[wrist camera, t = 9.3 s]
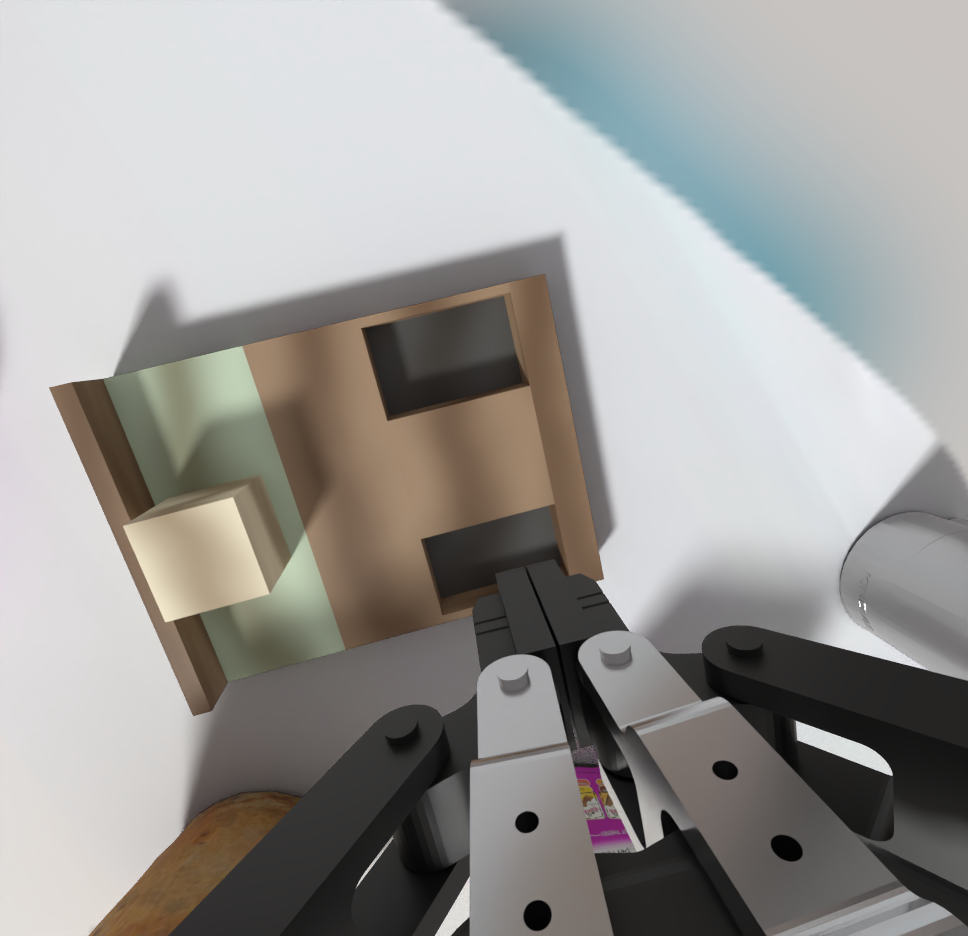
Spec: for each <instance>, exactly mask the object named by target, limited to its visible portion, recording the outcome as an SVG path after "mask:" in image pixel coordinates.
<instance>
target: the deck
mask: <svg viewBox="0 0 968 936" xmlns="http://www.w3.org/2000/svg"><path fill="white" fill-rule="evenodd" d="M49 389H50V391H51V393H52V396H53V398H54V400H55V402H56V405H57V407H58V409H59V412H60V414H61V416H62V418H63V421H64V423H65V425H66V427H67V430H68V432H69V434H70V437H71V439H72V441H73V443H74V446H75V448H76V450H77V452H78V455H79V457H80V459H81V462H82V464H83V466H84V468H85V471H86V473H87V475H88V478H89V480H90V482H91V484H92V487H93V489H94V491H95V493H96V496H97V498H98V500H99V503H100V505H101V507H102V509H103V512H104V514H105V516H106V519H107V521H108V523H109V525H110V528H111V530H112V532H113V534H114V537H115V539H116V541H117V544H118V546H119V548H120V550H121V553H122V555H123V557H124V560H125V562H126V564H127V566H128V569H129V571H130V573H131V575H132V578H133V580H134V582H135V585H136V587H137V589H138V591H139V594H140V596H141V598H142V601H143V603H144V605H145V607H146V610H147V612H148V614H149V616H150V619H151V621H152V623H153V626H154V628H155V630H156V632H157V635H158V637H159V639H160V642H161V644H162V646H163V648H164V651H165V653H166V655H167V657H168V660H169V662H170V664H171V667H172V669H173V671H174V673H175V676H176V678H177V680H178V683H179V685H180V687H181V689H182V692H183V694H184V696H185V698H186V701H187V703H188V705H189V708H190V710H191V712H192V714H193V716H195V715H199V714H202V713H206V712H210V711H212V710H213V708H214V706H215V704H216V703H217V701H218V699H219V697H220V695H221V694H222V692H223V690H224V688H225V687H226V685H227V683H228V682H231V681H235V680H238V679H242V678H246V677H249V676H253V675H256V674H260V673H264V672H267V671H271V670H275V669H278V668H282V667H286V666H289V665H293V664H297V663H300V662H304V661H307V660H311V659H315V658H318V657H322V656H326V655H329V654H333V653H337V652H340V651H344V650H348V649H351V648H355V647H358V646H362V645H366V644H369V643H373V642H377V641H380V640H384V639H388V638H391V637H395V636H399V635H402V634H406V633H409V632H413V631H417V630H420V629H424V628H428V627H431V626H435V625H439V624H442V623H446V622H450V621H453V620H457V619H460V618H464V617H468V616H471V615H472V610H473V608H474V606H475V604H476V602H477V600H478V599H479V598H481V597H485V596H489V595H493V594H497V593H499V589H498V585H497V580H496V575H495V573H499V572H503V571H507V570H511V569H515V568H520V567H524V569H525V571H526V566H528V565H532V564H536V563H540V562H544V561H548V560H552V559H555V561H556V563H557V564H558V566H559V568H560V570H561V572H562V573H563V575H564V577H567V576H571V575H575V574H579V573H581V574H583V575H585V576H587V577H589V578H591V579H593V580H595V581H599V580H603V579H604V577H603V572H602V566H601V561H600V556H599V551H598V546H597V540H596V535H595V530H594V525H593V520H592V515H591V509H590V504H589V499H588V494H587V489H586V484H585V478H584V473H583V468H582V463H581V458H580V453H579V447H578V442H577V437H576V432H575V427H574V422H573V416H572V411H571V406H570V401H569V396H568V391H567V385H566V380H565V375H564V370H563V365H562V360H561V354H560V349H559V344H558V339H557V334H556V329H555V323H554V318H553V313H552V308H551V303H550V298H549V292H548V287H547V282H546V277H545V274H542V275H538V276H534V277H530V278H525V279H521V280H517V281H513V282H509V283H504V284H500V285H496V286H492V287H488V288H483V289H479V290H475V291H471V292H467V293H462V294H458V295H454V296H450V297H445V298H441V299H437V300H433V301H429V302H424V303H420V304H416V305H412V306H408V307H403V308H399V309H395V310H391V311H387V312H382V313H378V314H374V315H370V316H366V317H361V318H357V319H353V320H349V321H344V322H340V323H336V324H332V325H328V326H323V327H319V328H315V329H311V330H307V331H302V332H298V333H294V334H290V335H286V336H281V337H277V338H273V339H269V340H265V341H260V342H256V343H252V344H248V345H243V346H239V347H235V348H231V349H227V350H222V351H218V352H214V353H210V354H206V355H201V356H197V357H193V358H189V359H185V360H180V361H176V362H172V363H168V364H163V365H159V366H155V367H151V368H147V369H142V370H138V371H134V372H130V373H126V374H121V375H117V376H113V377H109V378H105V379H98V380H89V381H80V382H71V383H67V384H63V385H59V386H55V387H50V388H49ZM258 474H261V475H262V477H263V480H264V483H265V486H266V488H267V491H268V494H269V497H270V499H271V502H272V505H273V508H274V511H275V513H276V516H277V519H278V522H279V524H280V527H281V530H282V533H283V535H284V538H285V541H286V544H287V546H288V549H289V552H290V555H291V559H290V561H289V562H288V564H287V566H286V568H285V569H284V571H283V573H282V574H281V576H280V578H279V579H278V581H277V583H276V584H275V586H274V588H273V589H272V591H271V593H270V594H268V595H264V596H261V597H257V598H253V599H250V600H246V601H242V602H239V603H235V604H231V605H228V606H224V607H220V608H217V609H213V610H209V611H206V612H202V613H198V614H195V615H191V616H187V617H184V618H180V619H176V620H173V621H169V622H165V621H164V618H163V616H162V614H161V612H160V609H159V607H158V605H157V603H156V600H155V598H154V596H153V593H152V591H151V589H150V587H149V584H148V582H147V580H146V578H145V575H144V573H143V571H142V569H141V566H140V564H139V562H138V560H137V557H136V555H135V553H134V550H133V548H132V546H131V544H130V541H129V539H128V537H127V535H126V532H125V530H124V528H123V526H124V525H125V524H127V523H128V522H130V521H132V520H133V519H135V518H137V517H138V516H140V515H141V514H143V513H145V512H146V511H148V510H149V509H151V508H153V507H154V506H156V505H158V504H159V503H161V502H162V501H164V500H166V499H167V498H170V497H174V496H178V495H181V494H185V493H189V492H193V491H197V490H201V489H205V488H208V487H212V486H216V485H220V484H224V483H228V482H231V481H235V480H239V479H243V478H247V477H251V476H254V475H258ZM526 574H527V573H526Z"/></svg>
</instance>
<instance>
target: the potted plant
mask: <svg viewBox="0 0 968 936" xmlns="http://www.w3.org/2000/svg"><path fill="white" fill-rule="evenodd" d="M300 799H301V798H300V797H295V796H291V795H287V794H283V793H279V792H254V793H240V794H238V795H235V796H232V797H230V798H227V799H225V800H222V801H219V802H217V803H215V804H213V805H212V806H210V807H209V808H207V809H206V810H205V811H203V812H202V813H200V814H199V815H198V816H196V817H195V818H194V819H193V820H192V821H191V822H190V824H189V825H188V826H187V827H186V828H185V829H184V831H183V832H182V833H181V834H180V835H179V837H178V838H177V839H176V840H175V841H174V842H173V843H172V844H171V845H170V846H169V847H168V848H167V849H166V850H165V851H164V852H163V853H162V854H161V855H160V856H159V857H158V858H157V859H156V860H155V861H154V862H153V864H152V865H151V866H150V867H149V869H148V870H147V871H146V872H145V873H144V874H143V876H142V877H141V878H140V879H139V880H138V882H137V883H136V884H135V885H134V886H133V887H132V888H131V889H130V890H129V892H128V893H127V894H126V895H125V896H124V897H123V898H122V899H121V900H120V901H119V902H118V904H117V905H116V906H115V907H114V908H113V909H112V910H111V911H110V912H109V913H108V914H107V916H106V917H105V918H104V919H103V920H102V921H101V922H100V923H99V924H98V926H97V927H96V928H95V929H94V930H93V931H92V933H91V934H90V935H89V936H168V935H169V934H170V933H171V932H172V931H173V930H174V929H175V928H176V927H177V926H178V925H179V924H180V923H181V922H182V921H183V920H184V919H185V918H186V917H187V916H188V915H189V914H190V913H191V911H192V910H193V909H194V908H195V907H196V906H197V905H198V904H199V903H200V902H201V901H202V900H203V899H204V898H205V897H206V896H207V895H208V894H209V893H210V892H211V891H212V890H213V889H214V888H215V887H216V886H217V885H218V884H219V883H220V882H221V881H222V880H223V879H224V878H225V877H226V876H227V874H228V873H229V872H230V871H231V870H232V869H233V868H234V867H235V866H236V865H237V864H238V863H239V862H240V861H241V860H242V859H243V858H244V857H245V856H246V855H247V854H248V853H249V852H250V851H251V850H252V849H253V848H254V847H255V846H256V845H257V844H258V843H259V842H260V841H261V840H262V839H263V837H264V836H265V835H266V834H267V833H268V832H269V831H270V830H271V829H272V828H273V827H274V826H275V825H276V824H277V823H278V822H279V821H280V820H281V819H282V818H283V817H284V816H285V815H286V814H287V813H288V812H289V811H290V810H291V809H292V808H293V807H294V806H295V805H296V804H297V803H298V802H299V800H300Z"/></svg>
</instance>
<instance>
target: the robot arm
mask: <svg viewBox="0 0 968 936" xmlns="http://www.w3.org/2000/svg"><path fill="white" fill-rule="evenodd" d="M526 573H527V574H526ZM495 575H496V580H497V585H498V589H499V593H497V594H493V595H489V596H485V597H481V598H479V599H478V600H477V602H476V604H475V606H474V608H473V610H472V615H473V621H474V628H475V634H476V641H477V648H478V654H479V661H480V667H481V674H480V676H479V678H478V681H477V693H476V694H475V695H474V697H473V698H472V699H471V700H470V701H469V702H468V703H466V704H465V705H464V706H462V707H461V708H459V709H457V710H456V711H454V712H452V713H450V714H448V715H446V716H444V717H441V715H440V713H439V712H438V711H437V710H435V709H434V708H432V707H429V706H426V705H409V706H404V707H401V708H398V709H396V710H393V711H391V712H389V713H388V714H386V715H384V716H383V717H382V718H380V719H379V720H378V721H377V722H376V723H374V724H373V725H372V727H371V728H370V729H369V730H368V731H367V732H366V733H365V734H364V735H363V736H362V737H361V738H360V739H359V740H358V741H357V742H356V743H355V744H354V745H353V746H352V747H351V748H350V749H349V750H348V751H347V752H346V753H345V754H344V755H343V756H342V757H341V758H340V759H339V760H338V761H337V762H336V764H335V765H334V766H333V767H332V768H331V769H330V770H329V771H328V772H327V773H326V774H325V775H324V776H323V777H322V778H321V779H320V780H319V781H318V782H317V783H316V784H315V785H314V786H313V787H312V788H311V789H310V790H309V791H308V792H307V793H306V794H305V795H304V796H303V797H302V798H301V799H300V800H299V802H298V803H297V804H296V805H295V806H294V807H293V808H292V809H291V810H290V811H289V812H288V813H287V814H286V815H285V816H284V817H283V818H282V819H281V820H280V821H279V822H278V823H277V824H276V825H275V826H274V827H273V828H272V829H271V830H270V831H269V832H268V833H267V834H266V835H265V836H264V837H263V839H262V840H261V841H260V842H259V843H258V844H257V845H256V846H255V847H254V848H253V849H252V850H251V851H250V852H249V853H248V854H247V855H246V856H245V857H244V858H243V859H242V860H241V861H240V862H239V863H238V864H237V865H236V866H235V867H234V868H233V869H232V870H231V871H230V872H229V873H228V874H227V876H226V877H225V878H224V879H223V880H222V881H221V882H220V883H219V884H218V885H217V886H216V887H215V888H214V889H213V890H212V891H211V892H210V893H209V894H208V895H207V896H206V897H205V898H204V899H203V900H202V901H201V902H200V903H199V904H198V905H197V906H196V907H195V908H194V909H193V910H192V911H191V913H190V914H189V915H188V916H187V917H186V918H185V919H184V920H183V921H182V922H181V923H180V924H179V925H178V926H177V927H176V928H175V929H174V930H173V931H172V932H171V933H170V934H169V935H168V936H435V934H436V933H437V931H438V929H439V928H440V926H441V924H442V922H443V921H444V919H445V917H446V916H447V914H448V912H449V910H450V909H451V907H452V905H453V904H454V902H455V900H456V899H457V897H458V895H459V893H460V892H461V890H462V888H463V887H464V885H465V883H466V881H467V880H468V878H469V876H470V917H469V918H468V919H467V920H466V921H465V922H464V923H463V924H462V925H461V926H460V927H459V928H457V929H456V931H455V932H454V933H453V934H452V935H451V936H968V521H966V520H963V519H960V518H954V519H950V520H947V519H944V518H941V517H938V516H935V515H932V514H928V513H923V512H904V513H900V514H897V515H893V516H891V517H888V518H886V519H884V520H882V521H880V522H879V523H877V524H876V525H874V526H873V527H872V528H870V529H869V530H868V531H867V532H866V533H865V534H864V535H863V536H862V537H861V538H860V539H859V540H858V541H857V542H856V544H855V545H854V547H853V548H852V550H851V551H850V553H849V555H848V557H847V559H846V561H845V564H844V566H843V570H842V574H841V578H840V593H841V599H842V603H843V605H844V608H845V610H846V612H847V614H848V615H849V616H850V617H851V618H852V620H853V621H854V622H856V623H857V624H859V625H860V626H861V627H863V628H864V629H866V630H868V631H869V632H871V633H872V634H874V635H875V636H877V637H878V638H880V639H881V640H883V641H885V642H886V643H888V644H889V645H891V646H892V647H894V648H895V649H897V650H898V651H900V652H902V653H903V654H905V655H906V656H907V657H909V658H910V659H912V660H914V661H915V662H917V663H918V664H920V665H921V666H923V667H924V668H926V669H928V670H929V671H928V670H924V669H920V668H916V667H912V666H908V665H904V664H900V663H896V662H892V661H888V660H884V659H880V658H876V657H872V656H869V655H865V654H861V653H857V652H853V651H849V650H845V649H841V648H837V647H833V646H829V645H825V644H821V643H817V642H813V641H809V640H805V639H801V638H798V637H794V636H790V635H786V634H782V633H778V632H774V631H770V630H766V629H762V628H758V627H753V626H729V627H724V628H720V629H717V630H715V631H713V632H711V633H710V634H708V635H707V636H706V637H705V639H704V640H703V643H702V653H696V654H669V653H662V652H659V651H658V650H657V649H656V648H655V647H654V646H653V645H652V644H651V642H650V641H649V640H647V639H646V638H645V637H643V636H641V635H639V634H637V633H633V632H629V630H628V629H627V627H626V626H625V624H624V623H623V621H622V620H621V618H620V617H619V615H618V614H617V612H616V611H615V609H614V608H613V606H612V605H611V603H609V600H608V599H607V597H606V596H605V594H603V592H602V590H601V589H600V587H599V586H598V584H597V583H596V581H595V580H593V579H591V578H589V577H587V576H585V575H583V574H581V573H579V574H575V575H571V576H567V577H564V575H563V573H562V572H561V570H560V568H559V566H558V564H557V563H556V561H555V559H552V560H548V561H544V562H540V563H536V564H532V565H528V566H526V571H525V569H524V567H520V568H515V569H511V570H507V571H503V572H499V573H495ZM796 721H799V722H801V723H804V724H807V725H810V726H813V727H815V728H818V729H821V730H824V731H827V732H829V733H832V734H835V735H838V736H841V737H843V738H846V739H849V740H852V741H855V742H857V743H860V744H863V745H865V746H867V747H869V748H871V749H873V750H874V751H876V752H877V753H878V754H879V755H881V756H882V757H883V758H884V759H885V760H886V762H887V763H888V764H889V766H890V768H891V770H892V773H893V776H890V775H887V774H884V773H882V772H879V771H876V770H874V769H871V768H868V767H866V766H863V765H861V764H858V763H855V762H853V761H850V760H847V759H845V758H842V757H840V756H837V755H834V754H832V753H829V752H826V751H824V750H821V749H819V748H816V747H813V746H811V745H808V744H806V743H803V742H800V741H798V740H797V732H796ZM573 730H574V732H575V735H576V738H577V741H578V743H579V746H580V748H583V747H587V746H591V745H593V746H594V749H595V751H596V754H597V757H598V763H599V768H600V773H601V778H602V781H603V783H604V785H605V787H606V789H607V791H608V793H609V796H610V798H611V800H612V802H613V804H614V806H615V808H616V810H617V812H618V814H619V816H620V818H621V820H622V822H623V824H624V826H625V828H626V830H627V832H628V834H629V836H630V839H631V841H632V843H633V845H634V847H635V849H636V851H637V852H633V853H594V850H593V846H592V841H591V837H590V833H589V829H588V824H587V820H586V816H585V811H584V807H583V803H582V799H581V794H580V790H579V786H578V782H577V777H576V773H575V767H574V762H573V757H572V753H571V751H572V750H576V749H577V747H576V742H575V737H574V732H573ZM392 835H393V838H394V839H393V840H392V841H391V843H390V844H389V845H388V847H387V848H386V849H385V851H384V852H383V853H382V855H381V856H380V857H379V859H378V860H377V861H376V863H375V864H374V865H373V867H372V868H371V869H370V871H369V872H368V873H367V875H366V876H365V877H364V879H363V880H362V881H361V883H360V884H359V885H358V887H357V888H356V886H357V884H358V882H359V880H360V878H361V877H362V875H363V874H364V872H365V871H366V870H367V868H368V867H369V866H370V864H371V863H372V862H373V860H374V859H375V858H376V856H377V855H378V854H379V853H380V851H381V850H382V849H383V847H384V846H385V845H386V843H387V842H388V841H389V839H390V838H391V837H392Z"/></svg>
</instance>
